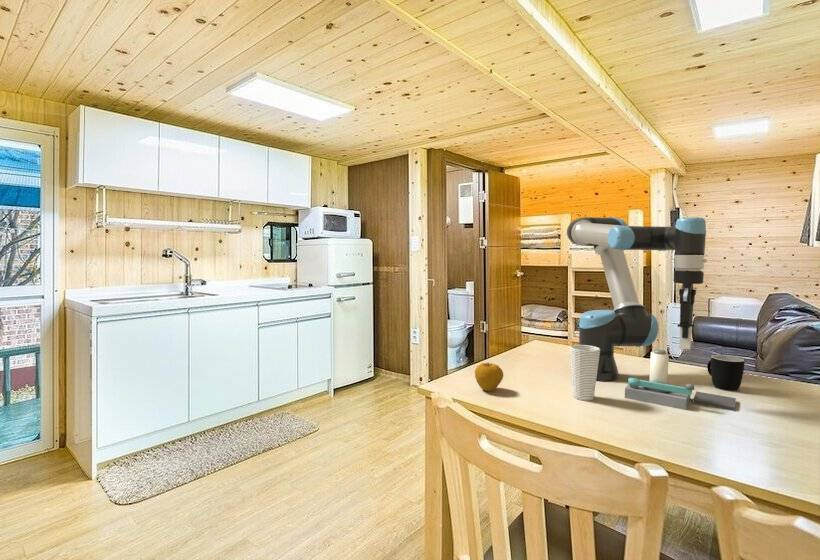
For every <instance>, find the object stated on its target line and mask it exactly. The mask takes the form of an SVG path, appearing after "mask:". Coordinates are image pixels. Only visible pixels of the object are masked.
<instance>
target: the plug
mask: <svg viewBox="0 0 820 560" xmlns="http://www.w3.org/2000/svg"><path fill="white" fill-rule="evenodd" d="M669 357H670V355H669V353H667V351H666V350H664V349H653V351H651V352H650V358H649V360H650V361H649V377H648V378H649V380H648V381H651V382H657V383H662V384H668V381H669V380H668V379H669V377H668V376H669ZM644 388H646V389H648V390H652V391H657V392H663V393H667V392H670V391H665V390H659V389H654V388H648V387H644Z"/></svg>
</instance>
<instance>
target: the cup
mask: <svg viewBox="0 0 820 560" xmlns="http://www.w3.org/2000/svg"><path fill="white" fill-rule="evenodd" d="M569 349H570V350H569V351H570V365H571V367H570V368H571V369H570V370H571V387H572V397H573V398H574V399H576V400H580V401H587V402H588V401H592V400H594V399H595V392H596V384H597V380H596V378H597V370H598V363H599V355H600V348H598V347H595V346H590V345H579V344H574V345H570V347H569Z"/></svg>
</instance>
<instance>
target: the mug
mask: <svg viewBox="0 0 820 560" xmlns="http://www.w3.org/2000/svg"><path fill="white" fill-rule="evenodd" d="M706 369H707V372H708V374H709V375H710V376H711V381H712V385H713V387H714V388H715V389H719V390H721V391H727V392H736V391H738V390H739V389H740V387H741V385H742V381H743V377H744V371H745V359H744V358H741V357H738V356H732V355H726V354H713V355H711V357H710V360H709V361H708V363H707V367H706Z"/></svg>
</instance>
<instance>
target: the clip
mask: <svg viewBox="0 0 820 560" xmlns="http://www.w3.org/2000/svg"><path fill="white" fill-rule="evenodd" d="M627 381H628V382H627V385H628V384H629V385H632V386H642V387H648V388H654V389H659V390H665V391H670V392H676V393H682V394H687V395H691V396H692V395H693V391H694V390H695V385H694V384H693V383H685V386H680V385H679V386H678V385H673V384H669V383H667V384H662V383H657V382H651V381H649V380H644V379H639V378H637V377H629V378H628V379H627Z"/></svg>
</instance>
